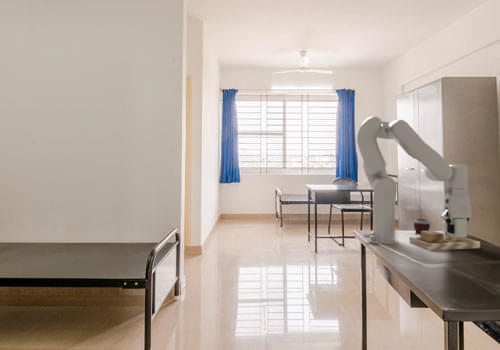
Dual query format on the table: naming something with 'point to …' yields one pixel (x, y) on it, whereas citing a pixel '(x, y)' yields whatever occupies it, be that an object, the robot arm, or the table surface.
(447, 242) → the slot tray
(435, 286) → the table surface
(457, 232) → the sage block
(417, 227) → the mate gourd
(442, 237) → the walnut block
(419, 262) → the table surface
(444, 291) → the table surface
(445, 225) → the watch
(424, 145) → the robot arm
